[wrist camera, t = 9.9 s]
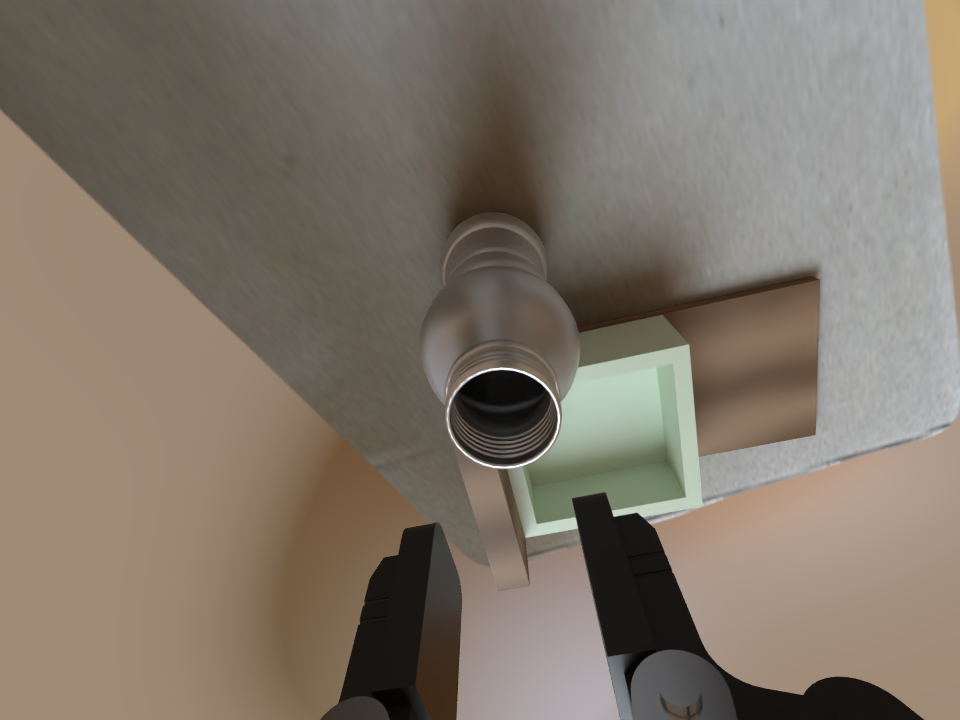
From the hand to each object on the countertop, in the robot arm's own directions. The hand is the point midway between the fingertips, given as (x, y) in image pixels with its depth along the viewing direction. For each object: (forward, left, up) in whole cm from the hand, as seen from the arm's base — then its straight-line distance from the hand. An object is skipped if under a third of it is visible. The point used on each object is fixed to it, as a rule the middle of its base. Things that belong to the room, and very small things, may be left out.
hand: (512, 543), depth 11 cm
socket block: (+12, +4, -24) cm, 27 cm away
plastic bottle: (0, 0, -25) cm, 25 cm away
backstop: (+12, +8, -25) cm, 29 cm away
